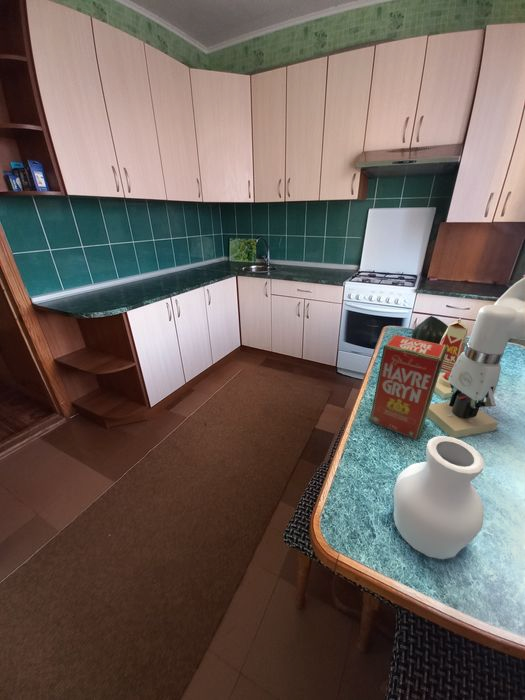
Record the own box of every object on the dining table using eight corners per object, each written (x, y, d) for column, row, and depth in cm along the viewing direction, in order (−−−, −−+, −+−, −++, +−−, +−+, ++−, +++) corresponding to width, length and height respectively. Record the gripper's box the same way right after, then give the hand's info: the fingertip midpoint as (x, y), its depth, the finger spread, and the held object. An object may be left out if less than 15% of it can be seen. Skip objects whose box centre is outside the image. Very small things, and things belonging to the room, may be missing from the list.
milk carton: (456, 375, 105) (473, 324, 96) (428, 367, 110) (442, 318, 101) (461, 366, 111) (478, 317, 102) (435, 358, 116) (449, 311, 107)
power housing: (450, 377, 104) (453, 368, 102) (474, 393, 95) (478, 383, 93) (421, 382, 102) (424, 372, 100) (443, 399, 93) (446, 388, 91)
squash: (456, 350, 110) (458, 314, 114) (413, 346, 116) (416, 311, 119) (446, 359, 123) (448, 326, 127) (407, 355, 128) (410, 324, 132)
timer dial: (461, 407, 84) (467, 391, 82) (473, 417, 80) (480, 400, 78) (448, 409, 84) (453, 393, 81) (460, 419, 80) (466, 402, 77)
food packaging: (367, 421, 84) (382, 344, 73) (378, 405, 91) (393, 332, 79) (417, 441, 77) (442, 359, 65) (425, 422, 83) (449, 344, 72)
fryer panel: (462, 406, 89) (465, 398, 88) (495, 430, 80) (499, 421, 78) (423, 413, 87) (425, 405, 85) (451, 439, 77) (455, 430, 76)
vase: (385, 546, 54) (407, 471, 45) (388, 485, 65) (407, 415, 56) (476, 582, 49) (522, 505, 39) (462, 508, 60) (496, 435, 51)
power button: (450, 375, 99) (451, 371, 98) (458, 381, 95) (460, 376, 95) (441, 376, 98) (442, 372, 97) (449, 382, 95) (451, 378, 94)
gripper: (444, 341, 80) (428, 395, 88) (502, 373, 65) (476, 434, 74) (467, 338, 81) (449, 392, 90) (528, 368, 67) (500, 429, 75)
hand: (461, 410), depth 82 cm, fingers closed on timer dial, 4 cm apart
